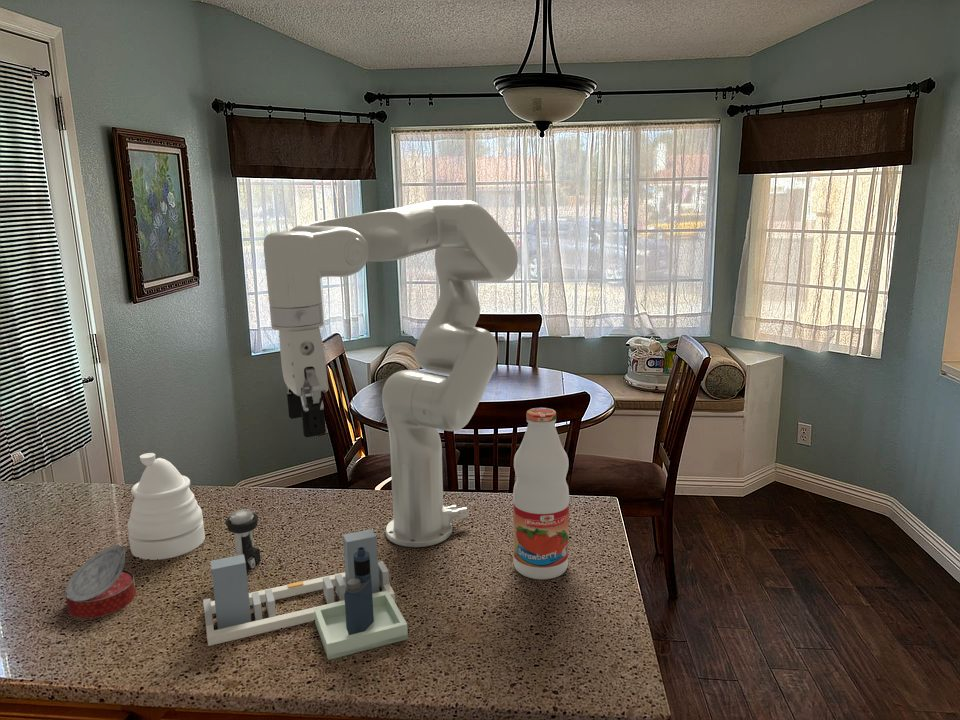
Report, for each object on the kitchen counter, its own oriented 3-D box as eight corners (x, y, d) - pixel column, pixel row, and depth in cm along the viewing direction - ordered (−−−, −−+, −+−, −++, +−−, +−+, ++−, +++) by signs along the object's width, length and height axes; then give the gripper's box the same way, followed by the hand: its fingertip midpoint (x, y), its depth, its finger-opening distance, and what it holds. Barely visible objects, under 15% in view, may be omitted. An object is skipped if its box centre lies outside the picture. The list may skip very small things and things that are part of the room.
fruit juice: (563, 552, 129) (565, 402, 123) (572, 580, 120) (574, 419, 114) (511, 554, 129) (510, 403, 123) (515, 582, 120) (515, 421, 114)
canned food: (130, 632, 116) (122, 598, 110) (61, 635, 114) (49, 600, 107) (145, 571, 124) (138, 536, 118) (81, 572, 122) (71, 536, 116)
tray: (389, 605, 114) (388, 591, 113) (407, 639, 105) (407, 623, 105) (315, 623, 109) (314, 608, 109) (328, 660, 101) (327, 644, 100)
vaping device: (377, 619, 109) (373, 546, 106) (359, 639, 104) (354, 563, 101) (362, 615, 110) (358, 543, 107) (343, 635, 105) (338, 560, 102)
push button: (244, 580, 122) (238, 526, 119) (218, 575, 124) (212, 521, 121) (268, 562, 128) (264, 509, 125) (244, 557, 130) (238, 505, 127)
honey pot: (159, 566, 127) (146, 470, 123) (116, 548, 134) (102, 456, 129) (219, 537, 137) (210, 447, 133) (176, 521, 144) (166, 436, 140)
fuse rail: (378, 572, 124) (375, 518, 121) (395, 601, 115) (392, 543, 113) (204, 611, 113) (197, 552, 111) (208, 646, 104) (200, 583, 102)
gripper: (338, 323, 101) (347, 438, 105) (308, 305, 116) (316, 407, 120) (283, 329, 98) (295, 448, 102) (260, 310, 113) (270, 414, 117)
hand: (306, 425), depth 111 cm, fingers open, 9 cm apart
